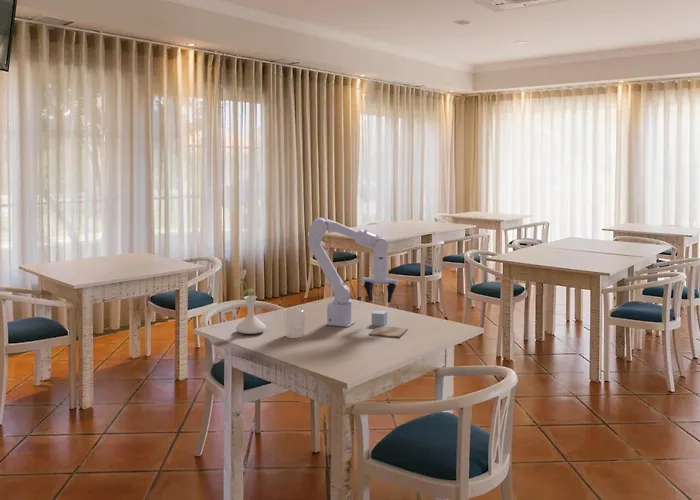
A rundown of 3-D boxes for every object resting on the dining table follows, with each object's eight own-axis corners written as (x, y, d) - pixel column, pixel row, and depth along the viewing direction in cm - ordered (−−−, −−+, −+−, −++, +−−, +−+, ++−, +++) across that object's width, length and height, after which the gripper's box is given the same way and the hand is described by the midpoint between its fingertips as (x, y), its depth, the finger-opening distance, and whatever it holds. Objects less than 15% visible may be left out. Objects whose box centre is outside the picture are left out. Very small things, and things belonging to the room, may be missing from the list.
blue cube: (371, 325, 253) (371, 313, 252) (375, 322, 258) (375, 310, 257) (383, 326, 251) (383, 314, 251) (387, 323, 256) (387, 311, 255)
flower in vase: (250, 327, 250) (249, 264, 247) (272, 331, 244) (271, 267, 240) (226, 334, 240) (224, 269, 236) (248, 339, 233) (246, 272, 230)
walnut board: (368, 335, 238) (368, 333, 238) (378, 327, 250) (378, 325, 249) (399, 338, 234) (399, 336, 234) (407, 329, 246) (407, 328, 245)
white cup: (308, 334, 240) (308, 308, 239) (300, 339, 233) (299, 313, 231) (289, 332, 243) (289, 306, 241) (280, 337, 235) (280, 311, 234)
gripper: (359, 268, 250) (359, 302, 252) (395, 270, 245) (394, 304, 247) (365, 265, 256) (365, 298, 258) (399, 267, 252) (399, 301, 253)
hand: (379, 301), depth 253 cm, fingers open, 7 cm apart
